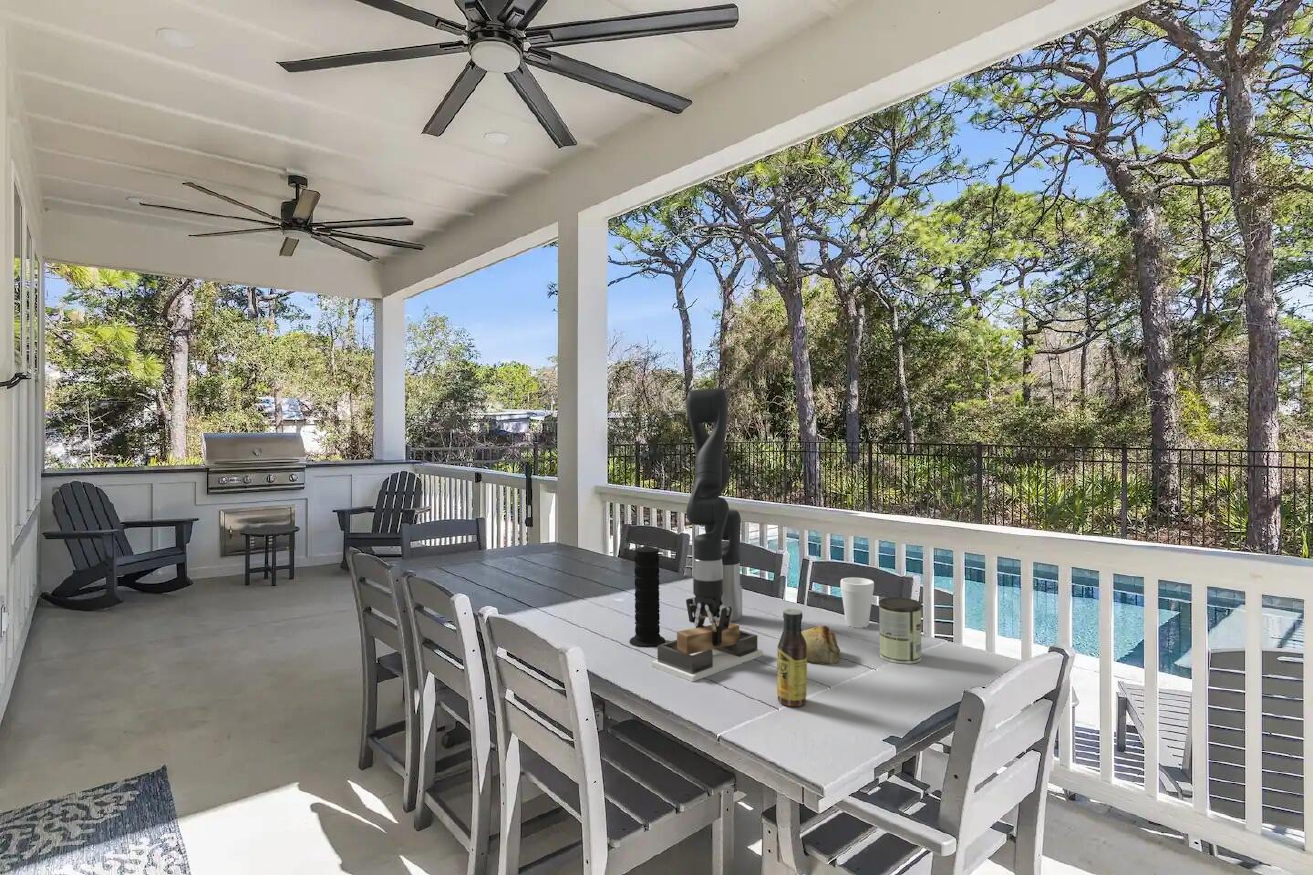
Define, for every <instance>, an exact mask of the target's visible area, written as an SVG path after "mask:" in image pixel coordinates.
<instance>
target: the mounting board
mask: <svg viewBox="0 0 1313 875" xmlns="http://www.w3.org/2000/svg"><path fill="white" fill-rule="evenodd" d="M711 650H712V651H713V667H711V668H709V669H706V670H703V671H700V672H698V673H695V674H690V673H687V672H684V671H682V670H679V669H676V668H674V667H671V666H668V665H666V664H663V663H660V662H658V659H656V660H652V661H651V667H653V668H655V669H658V670H661V671H663V672H666V673H668V674H671V675H674V676H676V677H679V678H681V679H683V680H686V681H690V682H696V681H698V680H702V679H704V678H706V677H708V676H712V675H715V674H716V673H720V672H723V671H725V670H728V669H730V668H733V667H736V666H739V665H740V664H743V662H744V663H747V662H749V661H751V660H754V659H757V658H760V657H762V656H764V651H763V649H759V648H757V651H755V652H752V653H750V654H747V655H744V656H741V657H738V656H735V655H732V654H729V653H726V652H722V651H719V650H716V649H711ZM702 652H704V651H702ZM698 653H701V652H698ZM698 653H693V654H689V655H695V654H698Z"/></svg>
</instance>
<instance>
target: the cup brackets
mask: <svg viewBox="0 0 1313 875" xmlns="http://www.w3.org/2000/svg"><path fill="white" fill-rule="evenodd" d="M757 649H758V635H757V634H754V633H751V632H747V631H744V630H741V629H739V640H737V644H734V645H729V646H725V647H720V648H716V650H719V651H722V652H726V653H729V654H732V655H735V656H738V657H741V656H744V655H747V654H750V653H752V652H755V651H757ZM657 660H658V662H660V663H663V664H666V665H668V666H671V667H674V668H676V669H679V670H682V671H684V672H687V673H690V674H695V673H698V672H700V671H703V670H706V669H709V668H711V667H713V651H712V650H707V651H704V652H701V653H698V654H695V655H689V654H687V653H684V652H681V651H679V650H677V639H675V640H671V641H668V642H665V643H664V644H661V645H657Z"/></svg>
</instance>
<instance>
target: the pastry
mask: <svg viewBox="0 0 1313 875" xmlns="http://www.w3.org/2000/svg"><path fill="white" fill-rule="evenodd" d="M801 633H802V635H803V637H804V639H805V641H806V644H807V662H810V663H811V662H812V663H811V664H821V663H825V664H824V665H834V664H833V663H835V664H837V662H839V659H840V656H839V654H840V652H841V649H840V647H839V646H838V640H837V637H836V635H835V632H833V631H832V630H830V627H829V626H827V625H822V626H821V625H820V626H815V627H812V628H808V629H804V630H802V632H801Z"/></svg>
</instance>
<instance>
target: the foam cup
mask: <svg viewBox="0 0 1313 875" xmlns="http://www.w3.org/2000/svg"><path fill="white" fill-rule="evenodd" d="M874 582H875V581H873V580H872V579H869V578H865V577H844V578H841V579H840V589H841V598H842V605H843V612H844V618H845V619H844V620H845V625H846V624H847V625H848V626H847V625H846V626H847V627H849V626H851V627H850V628H853V627H859V628H858V629H864V628H863V627H866V628H868V627H869V623H870V617H871V615H870V614H871V609H872V602H873V596H874V595H873V593H874V590H875V583H874ZM867 626H868V627H867Z"/></svg>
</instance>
